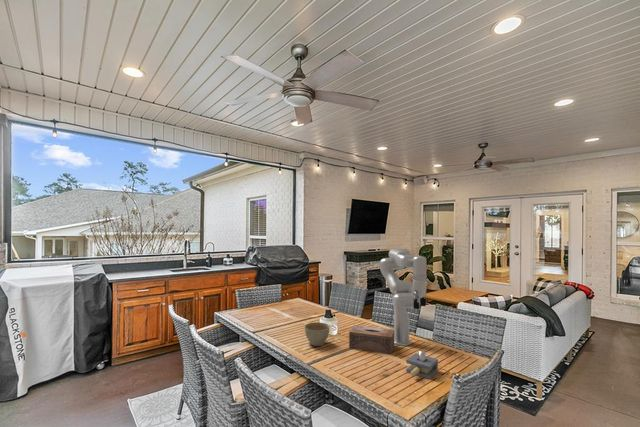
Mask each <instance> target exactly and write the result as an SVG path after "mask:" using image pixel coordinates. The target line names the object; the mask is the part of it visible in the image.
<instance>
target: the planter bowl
mask: <svg viewBox="0 0 640 427" xmlns="http://www.w3.org/2000/svg"><path fill="white" fill-rule="evenodd" d="M330 328H331V327H330V325H329V324H328V323H325V322H316V321H315V322H309V323H306V324H305V325H304V333H305V336H306V339H307V341H308V342H309V345H310V346H315V347H320V346H323V345H324V344H326V343H325V342H326V341H327V339H328V337H329V335H330Z"/></svg>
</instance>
